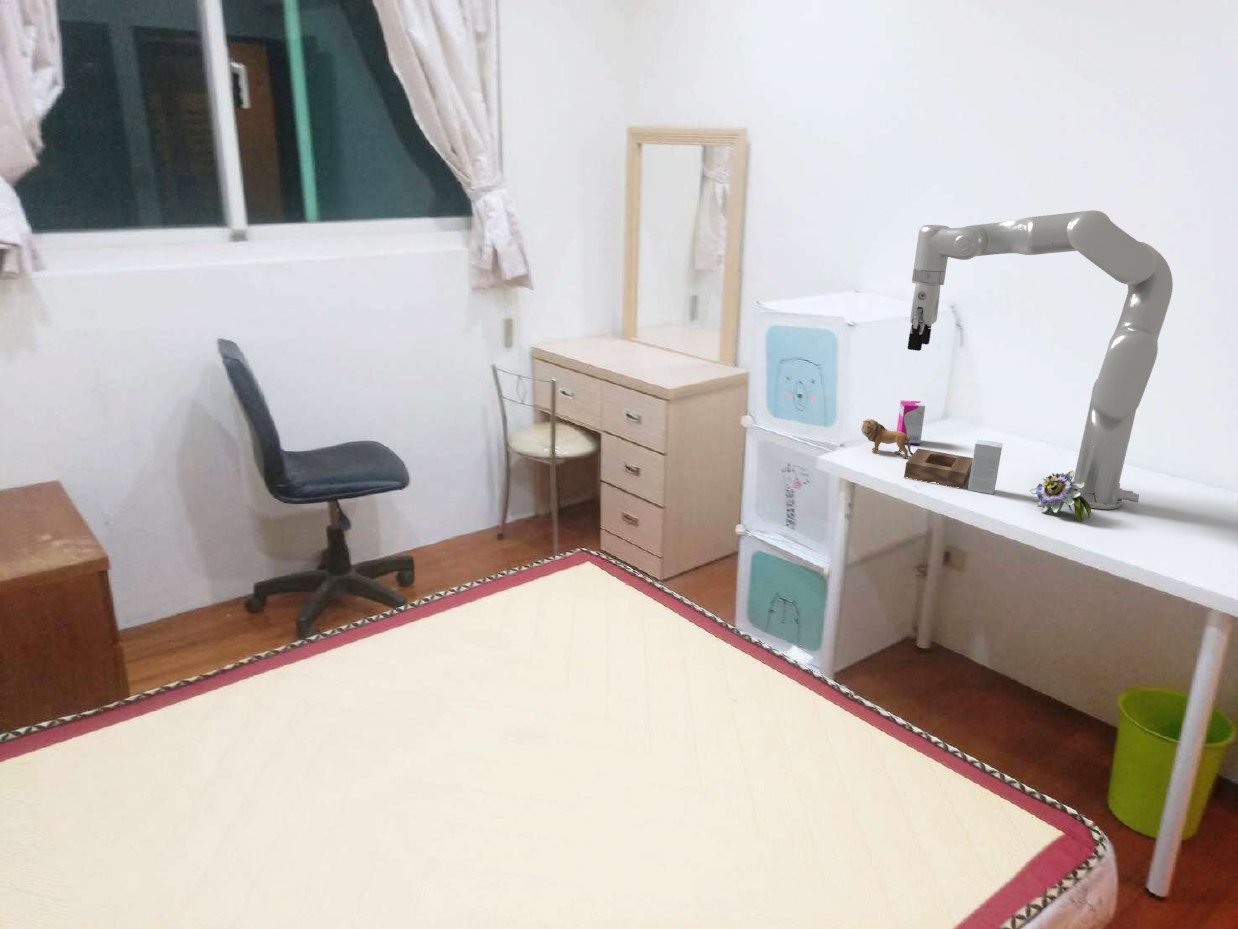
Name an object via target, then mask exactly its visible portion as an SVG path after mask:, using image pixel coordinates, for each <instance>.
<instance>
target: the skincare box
mask: <svg viewBox="0 0 1238 929" xmlns="http://www.w3.org/2000/svg"><path fill="white" fill-rule="evenodd" d="M1002 448H1003V442H997V441H991V440H983V439H976V441H975V443H974V450H973V456H972V458H973V461H972V468H971V474H970V477H969V479H968V487H967V490H968V491H971V492H977V493H982V494H983V493H984V494H988V495H989V494H990V495H994V494H995V490H996V484H997V479H998V473H999V466H1000V461H1001V455H1002V450H1003V449H1002Z"/></svg>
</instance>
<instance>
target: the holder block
mask: <svg viewBox="0 0 1238 929" xmlns="http://www.w3.org/2000/svg"><path fill="white" fill-rule="evenodd" d="M972 461H973V457H969V456H963V455H958V454H951V453H946V452H940V451H935V450H930V449H924V448H917V449H916V450H915V451H914V452H913V455H911V456H910V458H909V459H908V460H907V461H906V463H905V468H904V476H903V478H904V477H908V478H912V479H911V480H914V479H917V480H916V481H919V480H922V481H921V482H924V481H927V482H926V483H929V482H936V483H939V484H943V485H942V486H945V485H947V486H946V487H950V486H951V487H952V488H955V487H959V488H958V489H960V488H964V487H965V485H966V484H965V483H967V482H968V481H969V479H970V474H971V468H972ZM908 478H907V479H908ZM939 484H938V485H939ZM951 487H950V488H951Z"/></svg>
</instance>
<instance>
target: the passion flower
mask: <svg viewBox="0 0 1238 929" xmlns="http://www.w3.org/2000/svg"><path fill="white" fill-rule="evenodd" d="M1074 476H1075V472H1074V470H1069V471H1068V472H1067V473H1064V472H1062V473H1056V474H1055V473H1052V474H1051V475H1048V476H1046V477H1045V478H1043V483H1038V485H1037V487H1036V488H1035V487H1034V488H1032V489H1030V490H1029V492H1030V493H1031V494H1033V495H1037V498H1038V499H1039V501H1038V503H1037V507H1039V508H1041V507H1042V510H1041V513H1042V514H1047V513H1049V512H1050V510H1051V509H1052V512H1053V513H1054V514H1057V513H1059V512H1060V511H1061V509H1062V508H1063V505H1064V504H1066V505H1067V506H1068V507H1069V509H1070V511H1072V508H1071V506H1073V508H1074V512H1075V517H1076V520H1077V521H1079V522H1081V523H1082V522H1083V521H1084V517H1085V511H1086V514H1087V518H1088V519H1089V518H1090V516H1091V513H1092V508H1091V507H1090V505H1089V503H1088V502H1087V501H1086V500H1085V499H1084V498H1083V497H1082V496H1080V495H1082V494H1080V493H1079V492H1078V491H1077V490H1078V489H1080V488H1082V487H1084V486H1085V483H1084V482H1083V483H1082V482H1073V479H1074ZM1083 494H1091V493H1083ZM1092 494H1093V495H1094V498H1095V502H1097V501H1098V500H1097V496H1096V492H1093V493H1092ZM1082 504H1083V505H1084V506H1083V505H1082Z"/></svg>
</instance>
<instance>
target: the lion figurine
mask: <svg viewBox="0 0 1238 929" xmlns="http://www.w3.org/2000/svg"><path fill="white" fill-rule="evenodd" d="M860 429H861V433H862V435H863V436H865V437H866V438H867V440H868V441H869V442H872V443H873V444H874V447H872V449H871V450H872V451H871V452H872V454H878V452H879V447H880V444H881V443H883V444H886V445H891V444H895V443H896V446H898V450H897V451H896V450H895V451H894V454H896V455H900V454H901V453H902V452H903V453H904V454H903V455H902V456H901V458H903V459H907V458H908V456H909V454H910V455H911V456H912V455H913V454H914V452H912V450H911V445H910V443H909V439H908V437H907V435H906V434H905V433H903V432H900V431H897V430H895V431H892V430H888V429H887V428H886V427H885V426H884V425H882V424H880V423H879V422H878V421H876V420H874V419H871V418H868V419H865V420H863V421H862V426H861V428H860ZM905 440H906V441H907V448H906V444H905Z"/></svg>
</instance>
